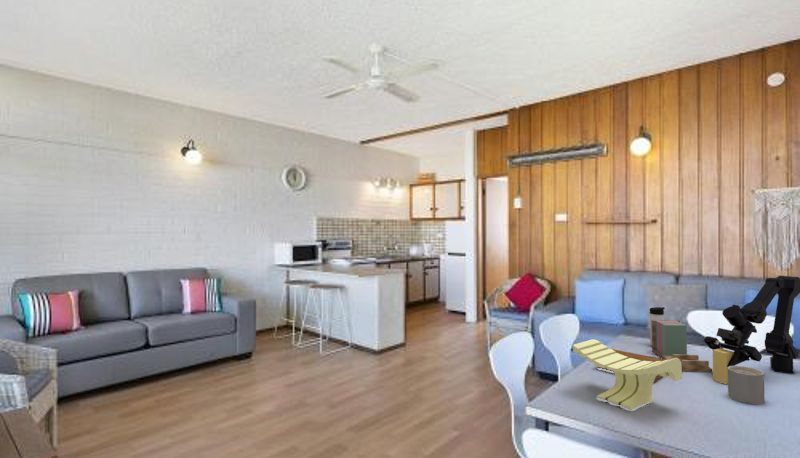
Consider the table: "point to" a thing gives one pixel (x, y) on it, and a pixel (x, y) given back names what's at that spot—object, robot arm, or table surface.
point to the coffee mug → (746, 384)
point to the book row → (671, 337)
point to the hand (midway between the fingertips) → (720, 365)
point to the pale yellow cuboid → (721, 365)
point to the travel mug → (655, 317)
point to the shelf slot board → (681, 355)
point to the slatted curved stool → (628, 373)
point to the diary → (640, 357)
